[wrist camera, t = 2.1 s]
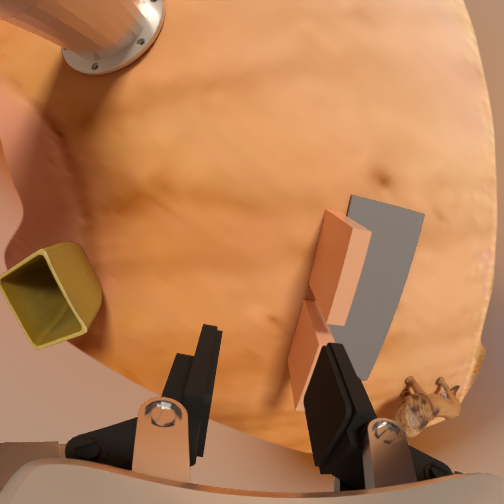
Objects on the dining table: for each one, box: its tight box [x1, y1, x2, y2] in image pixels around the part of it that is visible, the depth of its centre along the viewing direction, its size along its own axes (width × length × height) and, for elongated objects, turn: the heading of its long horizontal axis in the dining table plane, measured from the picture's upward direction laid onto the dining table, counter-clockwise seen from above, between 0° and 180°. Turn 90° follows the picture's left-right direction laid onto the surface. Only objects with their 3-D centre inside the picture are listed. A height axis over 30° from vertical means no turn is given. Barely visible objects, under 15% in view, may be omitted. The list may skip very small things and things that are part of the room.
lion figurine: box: [394, 376, 461, 437], centre depth 34 cm, size 15×5×9 cm, turn 84°
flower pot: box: [0, 241, 102, 350], centre depth 29 cm, size 9×9×9 cm
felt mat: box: [328, 195, 425, 380], centre depth 34 cm, size 22×9×1 cm, turn 170°
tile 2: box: [308, 209, 372, 326], centre depth 28 cm, size 8×2×9 cm, turn 170°
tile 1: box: [287, 300, 335, 411], centre depth 31 cm, size 8×2×9 cm, turn 170°
